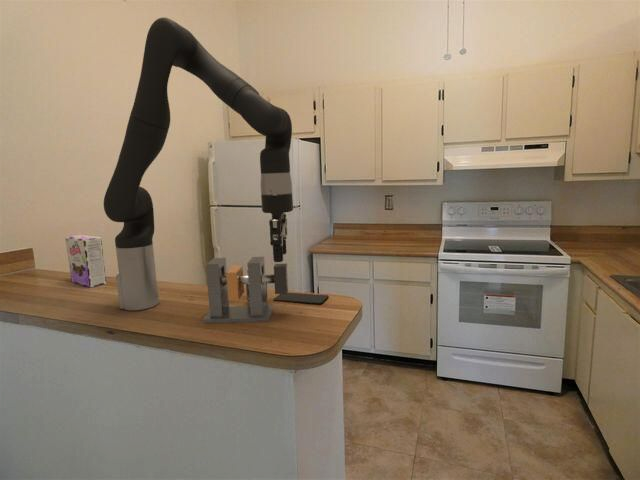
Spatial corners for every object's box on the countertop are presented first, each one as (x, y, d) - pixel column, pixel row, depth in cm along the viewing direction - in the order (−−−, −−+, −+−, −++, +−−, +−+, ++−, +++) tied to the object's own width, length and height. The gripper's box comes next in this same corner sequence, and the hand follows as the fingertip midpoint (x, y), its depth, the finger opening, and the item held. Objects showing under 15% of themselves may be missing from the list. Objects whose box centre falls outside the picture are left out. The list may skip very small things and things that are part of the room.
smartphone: (282, 292, 116) (329, 295, 110) (282, 295, 116) (330, 298, 111) (271, 299, 109) (321, 303, 104) (271, 302, 109) (321, 306, 104)
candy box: (70, 282, 135) (64, 236, 132) (88, 278, 139) (82, 233, 137) (89, 288, 127) (83, 239, 124) (107, 283, 132) (101, 236, 129)
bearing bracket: (203, 323, 94) (198, 265, 91) (213, 310, 103) (209, 257, 100) (268, 321, 93) (265, 263, 91) (273, 308, 102) (270, 255, 100)
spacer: (228, 300, 94) (226, 272, 92) (234, 291, 101) (232, 265, 99) (238, 300, 94) (236, 272, 92) (244, 291, 101) (242, 265, 99)
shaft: (215, 295, 96) (212, 268, 94) (218, 291, 99) (216, 265, 97) (287, 293, 95) (285, 266, 94) (288, 290, 98) (286, 263, 97)
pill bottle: (263, 306, 105) (261, 270, 103) (243, 305, 106) (241, 270, 104) (270, 299, 110) (268, 265, 108) (251, 298, 111) (249, 265, 110)
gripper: (265, 191, 100) (269, 252, 102) (256, 194, 86) (260, 265, 88) (294, 190, 100) (297, 251, 102) (289, 193, 85) (293, 264, 88)
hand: (280, 257), depth 95 cm, fingers open, 8 cm apart
